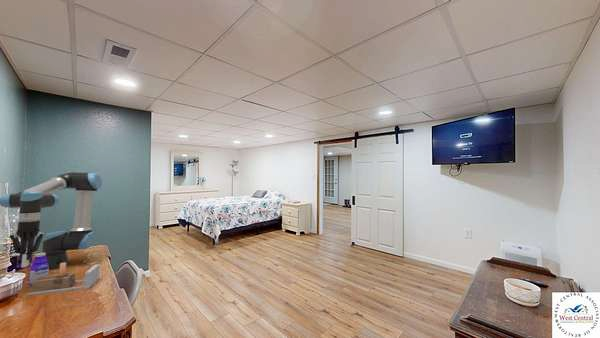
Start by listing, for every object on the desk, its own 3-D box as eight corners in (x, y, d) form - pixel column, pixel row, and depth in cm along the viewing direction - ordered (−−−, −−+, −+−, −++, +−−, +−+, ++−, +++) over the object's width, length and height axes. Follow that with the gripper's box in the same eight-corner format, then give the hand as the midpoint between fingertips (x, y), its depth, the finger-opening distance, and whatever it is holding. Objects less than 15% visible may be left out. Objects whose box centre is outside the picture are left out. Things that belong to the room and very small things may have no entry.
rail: (38, 288, 127) (40, 269, 128) (98, 281, 138) (99, 264, 138) (22, 299, 115) (23, 278, 116) (88, 291, 126) (90, 272, 126)
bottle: (33, 288, 127) (36, 255, 128) (25, 286, 128) (28, 255, 129) (49, 282, 134) (52, 252, 135) (42, 281, 135) (45, 251, 136)
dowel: (59, 284, 127) (61, 262, 127) (65, 284, 128) (67, 262, 128) (57, 286, 125) (59, 264, 125) (63, 286, 126) (64, 263, 126)
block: (41, 287, 126) (42, 275, 126) (74, 283, 131) (75, 272, 132) (31, 293, 119) (32, 281, 119) (67, 289, 124) (68, 278, 124)
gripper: (6, 222, 116) (1, 270, 115) (41, 221, 121) (37, 267, 120) (17, 220, 123) (12, 265, 122) (50, 219, 128) (46, 262, 127)
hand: (25, 266), depth 121 cm, fingers closed
